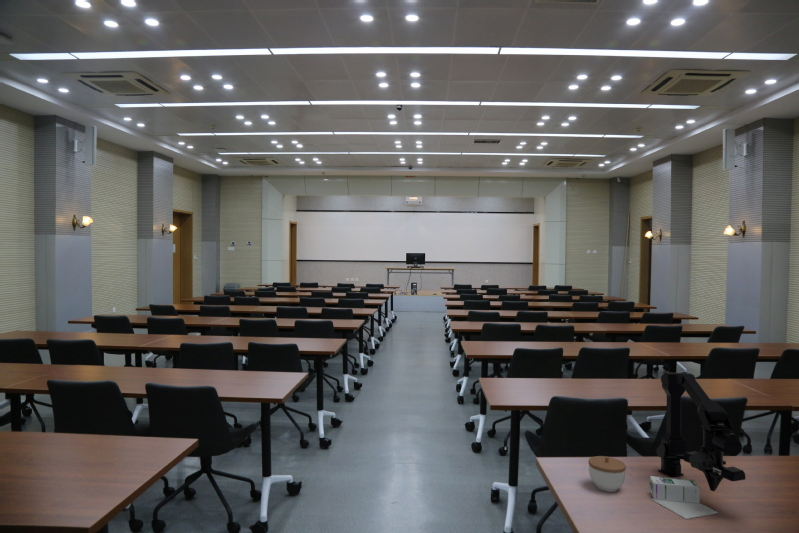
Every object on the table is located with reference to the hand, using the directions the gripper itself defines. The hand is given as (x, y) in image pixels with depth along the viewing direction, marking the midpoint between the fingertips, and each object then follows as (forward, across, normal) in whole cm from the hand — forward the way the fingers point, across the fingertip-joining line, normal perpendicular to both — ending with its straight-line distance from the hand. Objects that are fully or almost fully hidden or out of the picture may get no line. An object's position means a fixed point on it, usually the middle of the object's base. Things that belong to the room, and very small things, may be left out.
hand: (712, 490), depth 166 cm
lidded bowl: (+5, -22, -25) cm, 33 cm away
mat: (+5, -3, -10) cm, 11 cm away
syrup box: (+2, -4, -2) cm, 5 cm away
